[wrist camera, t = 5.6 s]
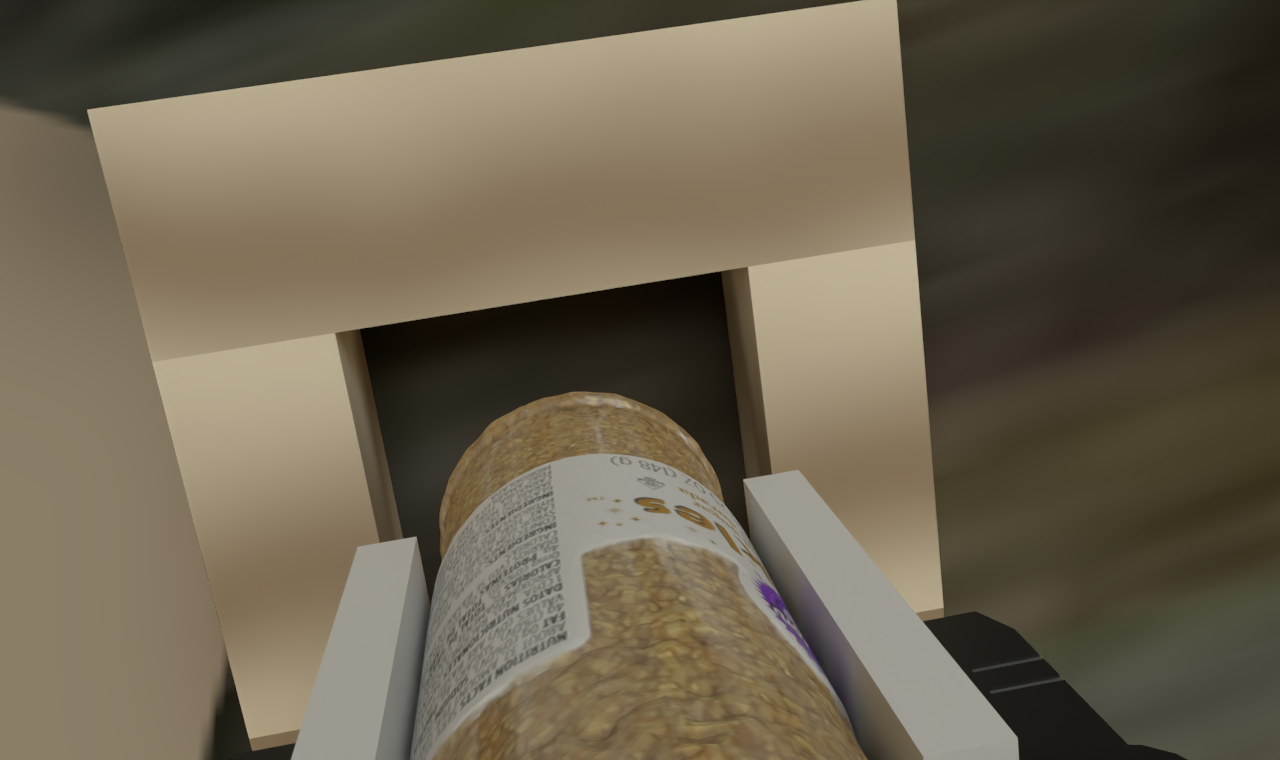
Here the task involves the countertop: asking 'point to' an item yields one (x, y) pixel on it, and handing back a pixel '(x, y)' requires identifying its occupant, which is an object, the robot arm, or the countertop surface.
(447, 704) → the sprinkles bottle
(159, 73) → the countertop surface
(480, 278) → the holder block
